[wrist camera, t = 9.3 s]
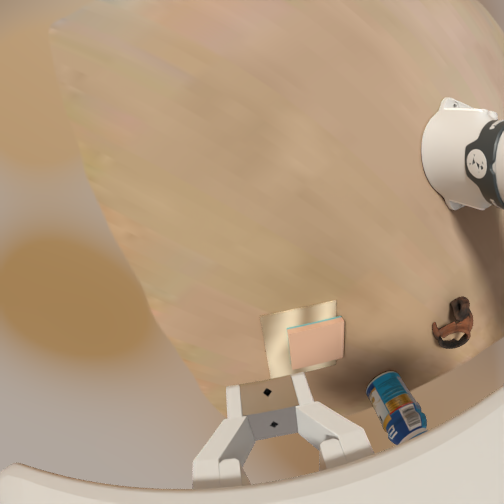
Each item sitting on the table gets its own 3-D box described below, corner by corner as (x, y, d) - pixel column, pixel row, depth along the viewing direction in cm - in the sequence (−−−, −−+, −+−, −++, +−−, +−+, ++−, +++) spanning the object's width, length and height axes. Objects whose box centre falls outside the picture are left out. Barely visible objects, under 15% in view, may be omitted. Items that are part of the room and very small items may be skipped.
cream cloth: (335, 299, 44) (336, 301, 44) (335, 363, 49) (335, 364, 49) (259, 315, 44) (260, 317, 43) (270, 377, 49) (271, 379, 48)
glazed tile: (344, 321, 43) (288, 334, 43) (343, 357, 46) (292, 369, 46) (340, 315, 45) (286, 328, 44) (340, 351, 48) (290, 363, 47)
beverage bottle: (405, 373, 54) (447, 438, 35) (380, 398, 56) (415, 464, 37) (383, 365, 51) (428, 438, 33) (357, 393, 54) (391, 466, 35)
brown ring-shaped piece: (464, 317, 51) (469, 349, 45) (427, 320, 55) (429, 352, 49) (476, 281, 44) (485, 315, 38) (435, 285, 48) (440, 320, 42)
